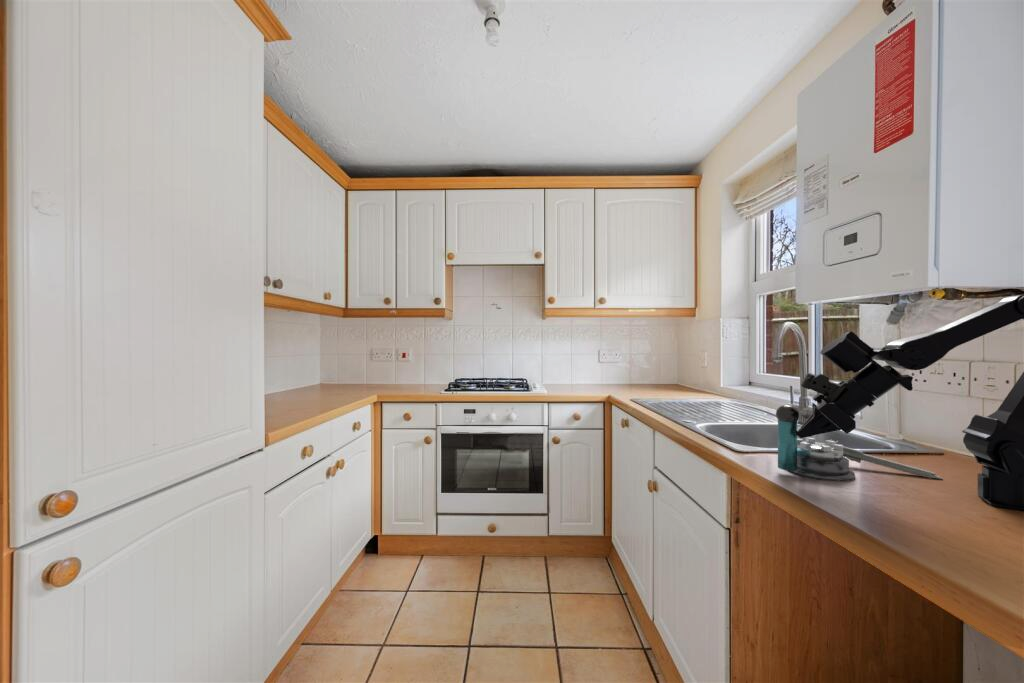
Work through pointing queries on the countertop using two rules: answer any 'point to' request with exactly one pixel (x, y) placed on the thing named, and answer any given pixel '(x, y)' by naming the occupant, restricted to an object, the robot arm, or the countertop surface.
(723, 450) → the countertop surface
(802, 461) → the cap housing
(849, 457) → the caliper
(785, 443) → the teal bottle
